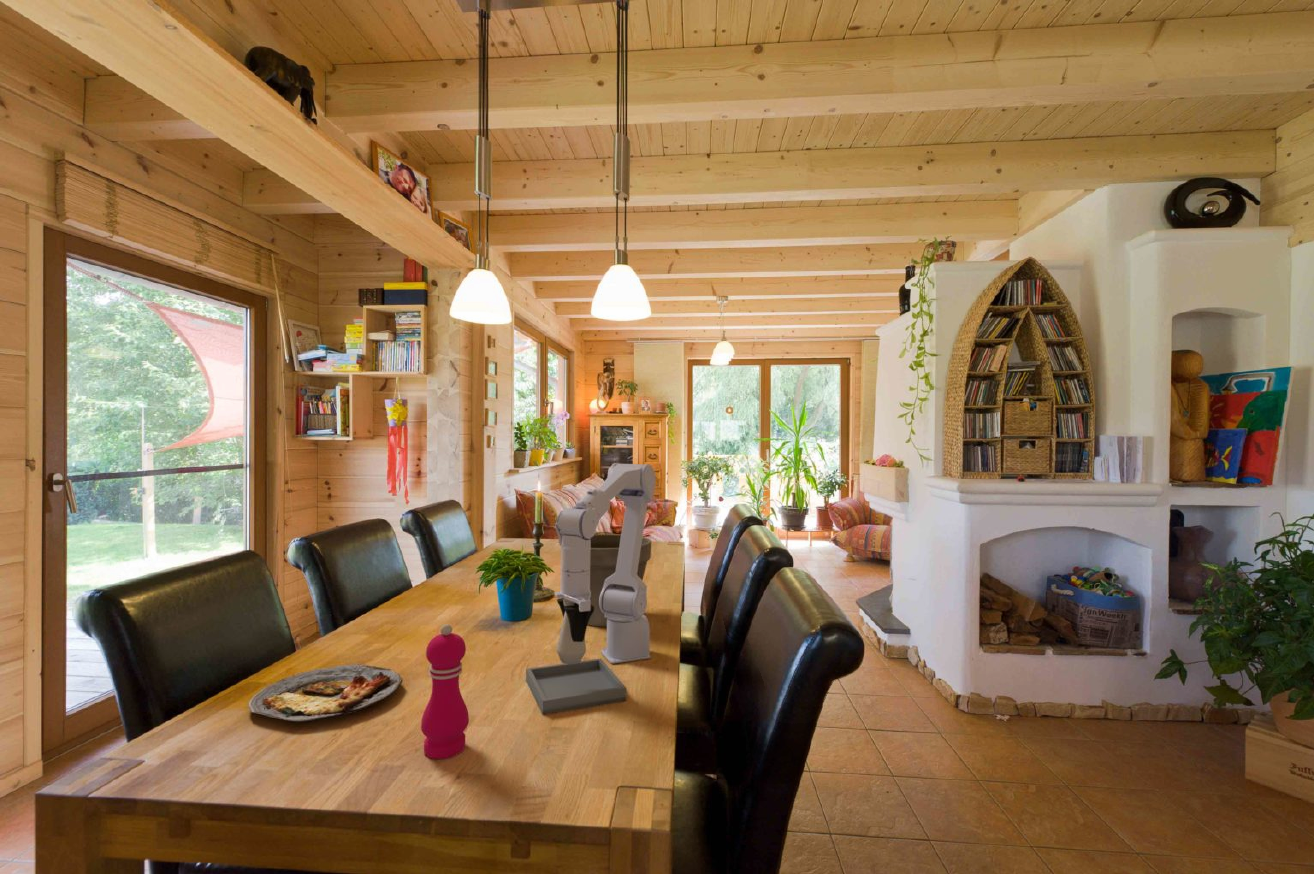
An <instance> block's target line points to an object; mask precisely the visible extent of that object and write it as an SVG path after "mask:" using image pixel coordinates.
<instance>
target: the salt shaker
mask: <svg viewBox="0 0 1314 874" xmlns="http://www.w3.org/2000/svg"><path fill="white" fill-rule="evenodd" d="M563 603H564V606H572V605H574V602H572V601H569V600H566V599H564V600H563ZM562 618H563V617H562ZM586 646H587V645H586V636H585V637H584V640H583V642H573V640H572V637H571V632H570V624H569V620H568V616H567V614H566V611H565V614H564V618H563V619H562V623H561V628H560V632H559V636H558V640H557V645H556V653H557V655H558V657H559V660H560V662H561V664H564V663H565V664H577V663H580V661H582V660H583V657H584V655H585V654H586V651H587V647H586Z"/></svg>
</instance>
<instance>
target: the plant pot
mask: <svg viewBox="0 0 1314 874" xmlns="http://www.w3.org/2000/svg"><path fill="white" fill-rule="evenodd" d="M620 540H621V534H618V533H617V534H616V533H614V534H613V533H610V534H609V533H608V534H607V533H602V534H601V533H600V534H596V533H595V534H594V536H593V537H591V549H590V591H591V597H590V601H591V605H592V606H594V612H593V613H592V615H591V617H590V619H589V622H588V625H589V626H594V627H607V618H606V617H604V613H603V612H602V611H601V609H600V606H599V597H600V594H601V591H602V589H603V586H604V582H605V579H607V578H608V577H610V576H611V575H612V574H614V573H615V572H616V565H617V559H618V552H619V546H620ZM651 556H652V540H651V539H650V538H647V537H644V536H643V537H642V544H641V550H640V557H639V564H638V571H637V575H638V577H639V578H640V579H641V580H642V581H644V576H645V573H646V568H647V564H648V561H650V559H651ZM617 587H620V588H627V589H634V588H633V587H628V586H617ZM588 625H587V626H588Z"/></svg>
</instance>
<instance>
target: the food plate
mask: <svg viewBox="0 0 1314 874" xmlns="http://www.w3.org/2000/svg"><path fill="white" fill-rule="evenodd" d="M333 682H338V683H339V685H338V684H334V683H333ZM340 682H341V683H340ZM343 682H350V683H349V684H348V685H346V684H342V683H343ZM401 684H403V678H402V677H401V675H400V673H397V672H396V671H395V670H393V669H390V668H386V667H381V666H379V667H377V666H374V665H368V664H367V665H366V664H360V663H359V664H346V665H345V664H343V665H337V666H332V667H327V668H318V669H317V668H316V669H313V670H308V671H304V672H301V673H299V674H298V673H296V674H292V676H288V677H285V678H282V679H279V680H278V681H276V682H275V683H272V684H269V685H267V686H265V687H263V689H261V690H260V691H259V692H257V693H256V694H254V695H253V697H252V698H250V700H249V702H248V708H249V709H250V712H251V713H254V714H257V715H262V716H266V717H269V718H274V719H278V720H279V719H280V720H285V721H289V722H292V721H293V722H299V723H300V722H305V723H308V722H314V721H319V720H325V719H331V718H334V717H339V716H340V717H342V716H344V715H348V714H350V713H355V712H359V711H361V710H364V709H365V708H367V707H369V706H371V705H374V704H376V703H378V702H380V701H382V700H384V699H387V698H389V697H390V696H392V695H393V694H394V693H395V692H397V690H398V689H399V687H400V686H401ZM300 691H301V692H302V693H306V694H308V695H303V694H298V693H297V692H300ZM296 693H297V694H296Z"/></svg>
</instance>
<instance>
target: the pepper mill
mask: <svg viewBox="0 0 1314 874" xmlns="http://www.w3.org/2000/svg"><path fill="white" fill-rule="evenodd" d="M466 646H467V645H466V642H465V640H464V639H463V637H462V636H461V635H459V634H456V633H454V632H453V627H452V626H451V625H450V624H448V623H447V624H444V625H442V626H441V627H440V633H439V634H437V635H435V636H433V638H431V639H430V641H429V642H428V643H427V646H426V649H425V656H426V659H427V661H428V662H429V664H430V665H429V667H428V668H429V673H428V676H429V677H430V678H431V684H432V687H431V695H430V698H429V700H428V703H427V705H426V707H425V709H424V711H423V714H422V717H421V723H420V731H421V732H422V734H423V735H424V736H425V738H424V741H423V753H424V755H425V756H426V757H427V758H430V759H434V760H443V759H449V758H452V757H455V756H457V755H459V754H460V753H462V752H463V751H464V750H465V748H466V733H465V730H466V729H467V728H468V725H469V719H470V718H469V711H468V707H467V705H466V701H464V698H463V696H462V693H461V690H460V682H459V681H460V675H461V674H462V673H463V663H462V659H463V658H464V657H465V655H466V650H467V647H466Z"/></svg>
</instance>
